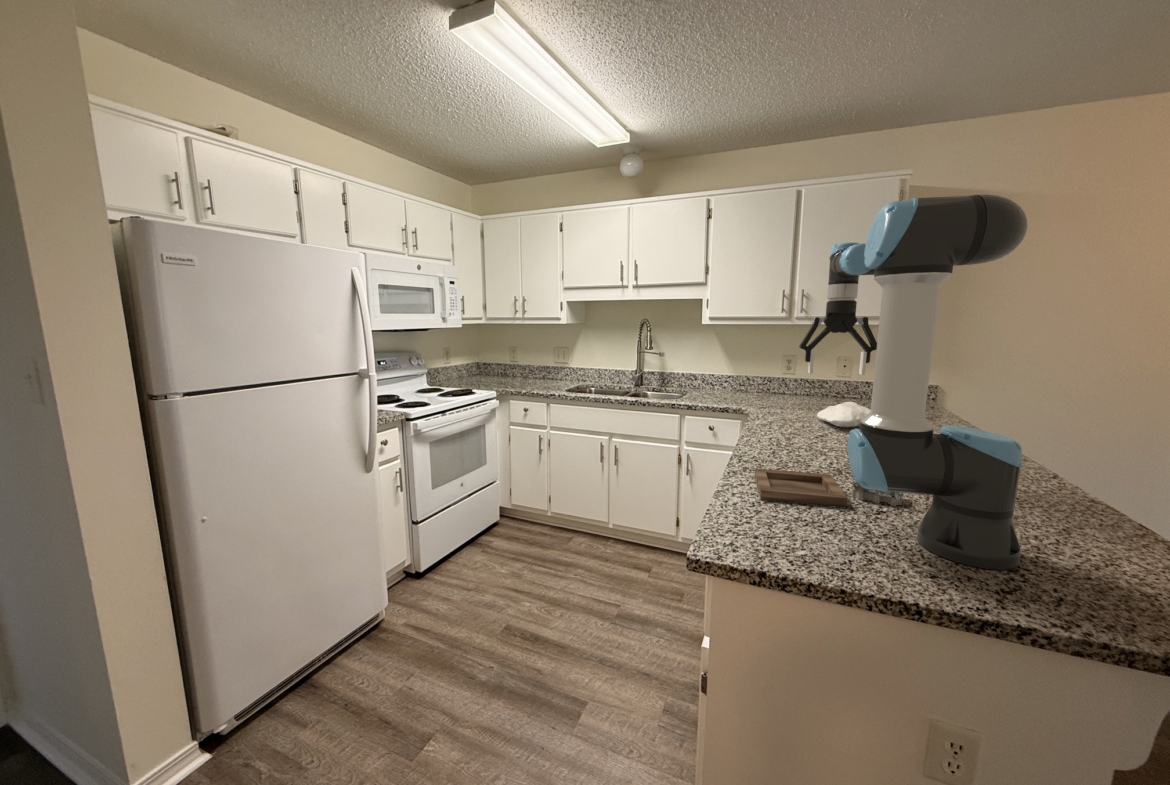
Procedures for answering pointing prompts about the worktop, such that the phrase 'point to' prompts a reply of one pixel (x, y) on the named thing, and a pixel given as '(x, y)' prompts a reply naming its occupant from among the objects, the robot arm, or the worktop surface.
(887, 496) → the egg carton
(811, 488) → the pocket board
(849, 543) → the worktop surface
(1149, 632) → the worktop surface
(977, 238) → the robot arm
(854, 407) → the crumpled cloth
